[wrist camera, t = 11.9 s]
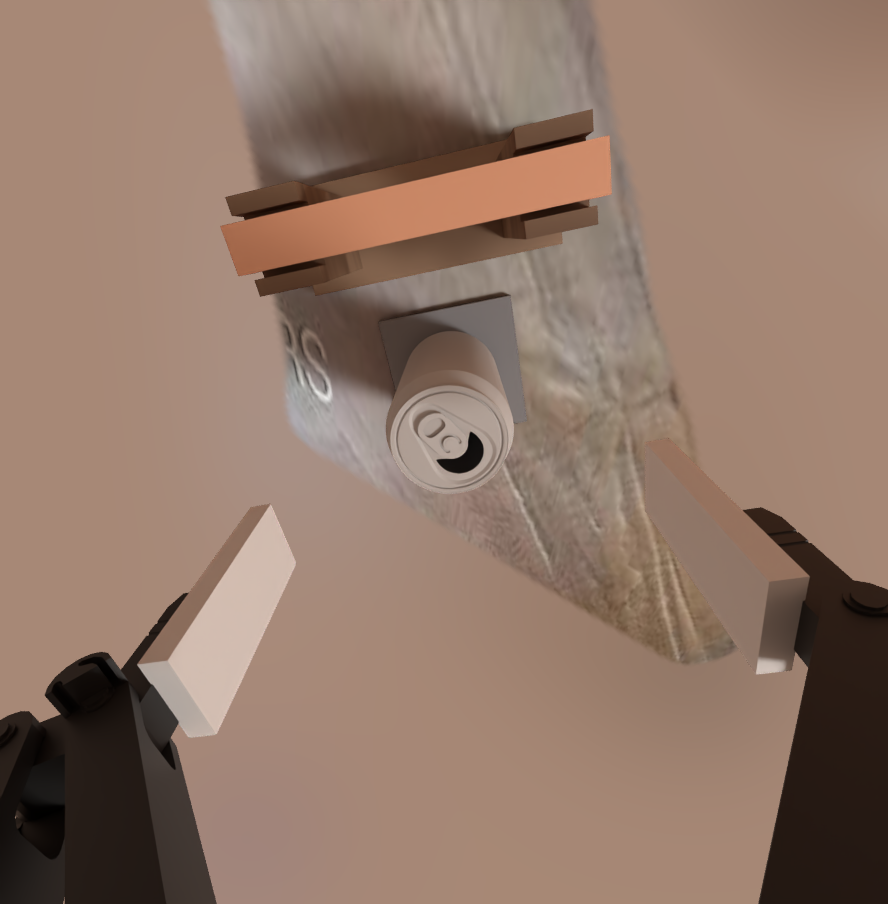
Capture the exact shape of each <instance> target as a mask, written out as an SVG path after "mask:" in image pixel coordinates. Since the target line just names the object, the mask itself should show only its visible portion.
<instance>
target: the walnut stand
mask: <svg viewBox="0 0 888 904" xmlns="http://www.w3.org/2000/svg"><path fill="white" fill-rule="evenodd" d="M593 131H594V129H593V109H591V110H587V111H583V112H579V113H574V114H570V115H566V116H562V117H558V118H554V119H549V120H545V121H541V122H537V123H533V124H528V125H524V126H520V127H516V128H514V129H513V131H512V133H511V134H510V136H509V138H508V139H506V140H502V141H498V142H494V143H490V144H485V145H481V146H477V147H473V148H469V149H464V150H460V151H456V152H452V153H447V154H443V155H439V156H435V157H431V158H426V159H422V160H418V161H414V162H410V163H405V164H401V165H397V166H393V167H389V168H384V169H380V170H376V171H372V172H368V173H363V174H359V175H355V176H351V177H346V178H342V179H338V180H334V181H330V182H325V183H321V184H317V185H313V186H308V185H305V184H302V183H299V182H296V181H291V182H287V183H282V184H278V185H274V186H270V187H266V188H262V189H257V190H253V191H249V192H245V193H241V194H237V195H233V196H228V197H226V200H227V203H228V206H229V209H230V212H231V215H232V216H239V217H244V219H245V220H249V219H253V218H257V217H262V216H266V215H270V214H274V213H279V212H283V211H287V210H292V209H296V208H300V207H304V206H309V205H313V204H317V203H322V202H326V201H330V200H334V199H339V198H343V197H347V196H352V195H356V194H360V193H364V192H369V191H373V190H377V189H382V188H386V187H390V186H394V185H399V184H403V183H407V182H412V181H416V180H420V179H424V178H429V177H433V176H437V175H442V174H446V173H450V172H455V171H459V170H463V169H467V168H472V167H476V166H480V165H485V164H489V163H493V162H497V161H502V160H506V159H510V158H515V157H519V156H523V155H527V154H532V153H536V152H540V151H545V150H549V149H553V148H557V147H562V146H566V145H570V144H575V143H579V142H583V141H586V136H587V135H589V134H590V133H591V132H593ZM597 224H598V210H597V206H592V207H589V199H588V200H584V201H579V202H575V203H570V204H566V205H561V206H557V207H552V208H548V209H543V210H539V211H534V212H529V213H525V214H520V215H516V216H511V217H507V218H502V219H498V220H493V221H489V222H484V223H480V224H475V225H470V226H466V227H461V228H457V229H452V230H448V231H443V232H439V233H434V234H430V235H425V236H421V237H416V238H411V239H407V240H402V241H398V242H393V243H389V244H384V245H380V246H375V247H371V248H366V249H362V250H357V251H352V252H348V253H343V254H339V255H334V256H330V257H325V258H321V259H316V260H312V261H307V262H303V263H298V264H294V265H289V266H284V267H280V268H275V269H271V270H266V271H262V272H263V275H264V278H263V279H259V280H255V283H256V286H257V288H258V292H259V295H260V297H261V296H266V295H270V294H275V293H280V292H284V291H289V290H294V289H298V288H303V287H308V286H313V290H314V293H315V296H317V295H322V294H326V293H331V292H336V291H340V290H345V289H350V288H355V287H359V286H364V285H369V284H373V283H378V282H383V281H388V280H392V279H397V278H402V277H406V276H411V275H416V274H421V273H425V272H430V271H435V270H440V269H444V268H449V267H454V266H458V265H463V264H468V263H473V262H477V261H482V260H487V259H491V258H496V257H501V256H506V255H510V254H515V253H520V252H524V251H529V250H534V249H539V248H543V247H548V246H553V245H557V244H562V232H564V231H569V230H573V229H578V228H583V227H587V226H592V225H597Z"/></svg>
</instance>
